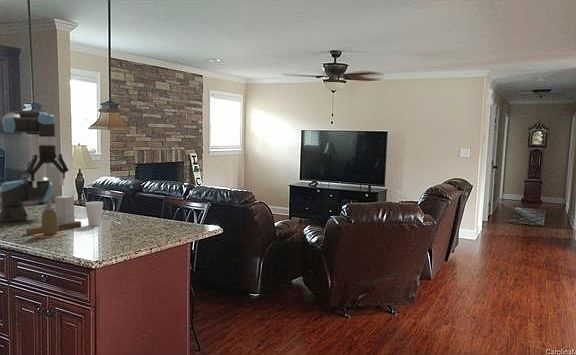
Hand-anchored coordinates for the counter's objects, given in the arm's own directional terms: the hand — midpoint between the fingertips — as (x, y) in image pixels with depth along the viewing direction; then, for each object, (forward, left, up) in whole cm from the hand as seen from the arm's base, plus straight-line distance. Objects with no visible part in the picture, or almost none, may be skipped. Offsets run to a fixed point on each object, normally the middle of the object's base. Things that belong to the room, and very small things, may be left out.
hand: (48, 186), depth 243 cm
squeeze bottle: (0, 0, -25) cm, 25 cm away
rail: (-2, +7, -26) cm, 27 cm away
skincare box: (-25, +21, -26) cm, 42 cm away
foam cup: (-7, +29, -26) cm, 39 cm away
